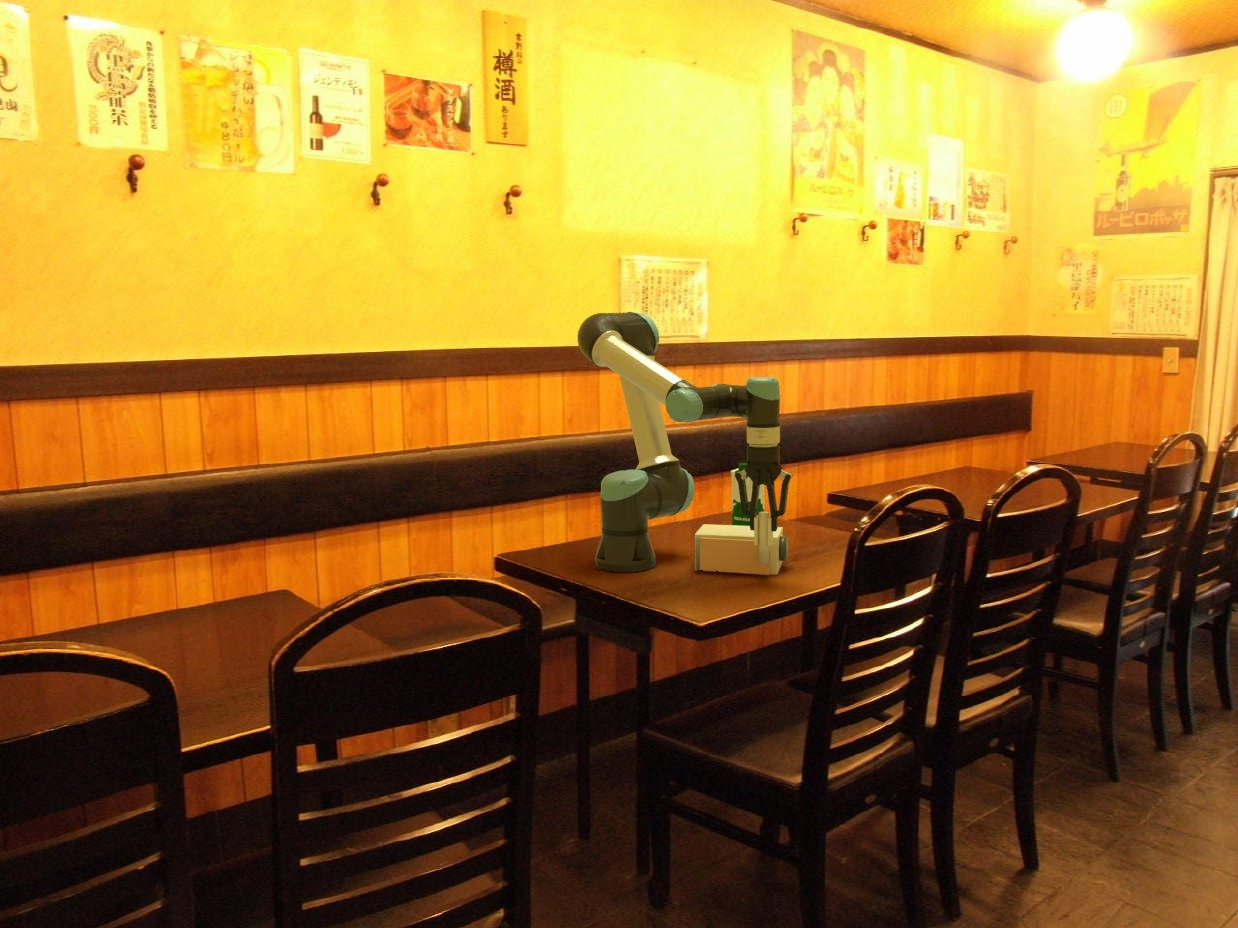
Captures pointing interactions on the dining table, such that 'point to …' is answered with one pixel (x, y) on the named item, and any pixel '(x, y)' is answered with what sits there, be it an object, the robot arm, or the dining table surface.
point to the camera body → (743, 532)
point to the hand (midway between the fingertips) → (763, 544)
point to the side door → (735, 553)
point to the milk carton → (737, 514)
